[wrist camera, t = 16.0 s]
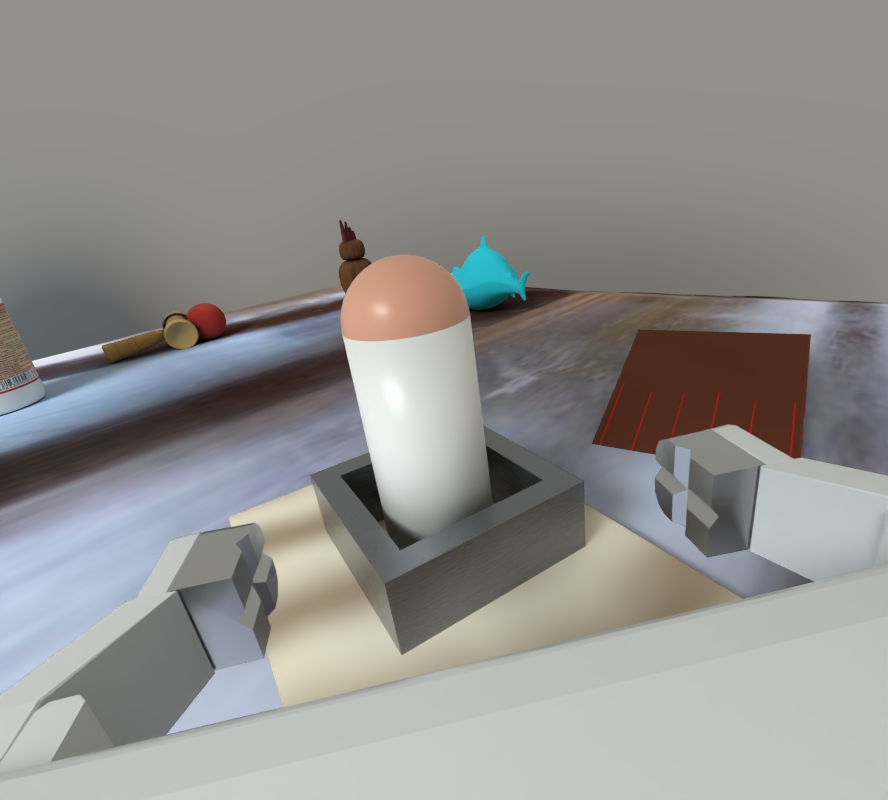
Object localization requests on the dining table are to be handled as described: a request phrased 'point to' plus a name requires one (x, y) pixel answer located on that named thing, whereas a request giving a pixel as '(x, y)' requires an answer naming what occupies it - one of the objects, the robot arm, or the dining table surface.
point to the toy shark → (488, 278)
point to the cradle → (453, 540)
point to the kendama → (173, 332)
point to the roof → (709, 388)
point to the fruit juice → (16, 369)
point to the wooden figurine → (351, 257)
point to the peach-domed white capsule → (417, 394)
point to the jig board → (473, 638)
